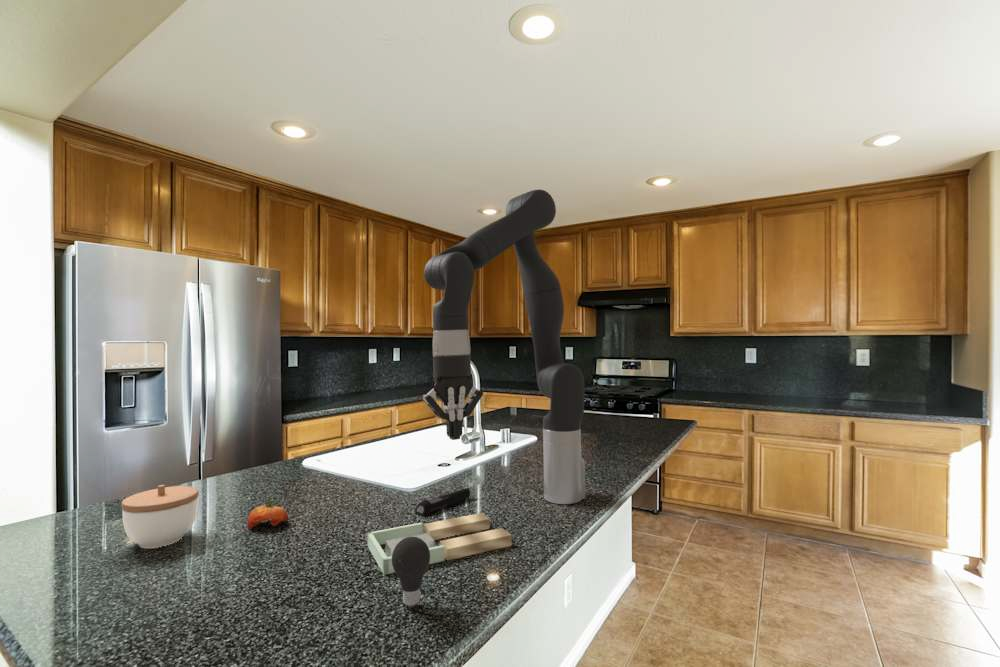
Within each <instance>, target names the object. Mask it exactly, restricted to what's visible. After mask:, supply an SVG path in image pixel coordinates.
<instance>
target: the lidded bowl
mask: <svg viewBox="0 0 1000 667" xmlns="http://www.w3.org/2000/svg"><path fill="white" fill-rule="evenodd" d="M199 494H200V493H199V489H198V488H196V487H195V486H194V487H193V486H189V485H176V486H174V485H173V486H166V484H160V485H157V488H154V489H148V490H145V491H141V492H137V493H135V494H132V495H130V496H128V497H126V498H124V499H123V500H122V501H121V510H122V521H123V522H122V523H123V528H124V531H125V534H126V535H127V537H128V538H129V539H130V540H131V541H132V542H133V543H135V544H136V545H138V546H139V547H140V548H141V549H145V550H146V549H148V550H149V549H150V550H151V549H159V547H160V548H163V547H162V546H164V547H167V545H168V546H171V545H173V543H174V544H176V543H178V542H180V541H181V540H183V538H184V536H185V535H186V534H187V533H188V532H189V531H190V530H191V527H193V525H194V523H195V520H196V517H197V513H198V503H199V501H198V500H199ZM182 537H183V538H182ZM180 539H181V540H180ZM179 540H180V541H179ZM177 541H178V542H177ZM175 542H176V543H175ZM170 544H171V545H170Z"/></svg>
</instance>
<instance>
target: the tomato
mask: <svg viewBox="0 0 1000 667" xmlns="http://www.w3.org/2000/svg"><path fill="white" fill-rule="evenodd" d="M268 520H271V521H270V524H271V525H272V526H273V527H275V526H277V525H278V524H279V523H281V522H287V521H288V520H289V514H288V512H287V510H286V509H285V508H284V507H282V506H275V505H274V504H273V500H268V502H266V503H265V505H260V506H257V507H255V508H253V510H252V511H250V514H249V515H248V517H247V523H246V524H247V528H248V530H249V531H250V530H251V531H250V532H253V530H252V529H253V528H254V527H255V526H257V525H259V524H260V523H263V522H264V521H268Z"/></svg>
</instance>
